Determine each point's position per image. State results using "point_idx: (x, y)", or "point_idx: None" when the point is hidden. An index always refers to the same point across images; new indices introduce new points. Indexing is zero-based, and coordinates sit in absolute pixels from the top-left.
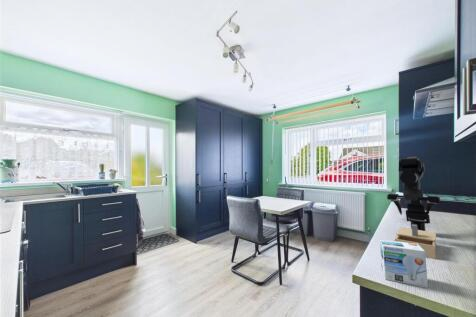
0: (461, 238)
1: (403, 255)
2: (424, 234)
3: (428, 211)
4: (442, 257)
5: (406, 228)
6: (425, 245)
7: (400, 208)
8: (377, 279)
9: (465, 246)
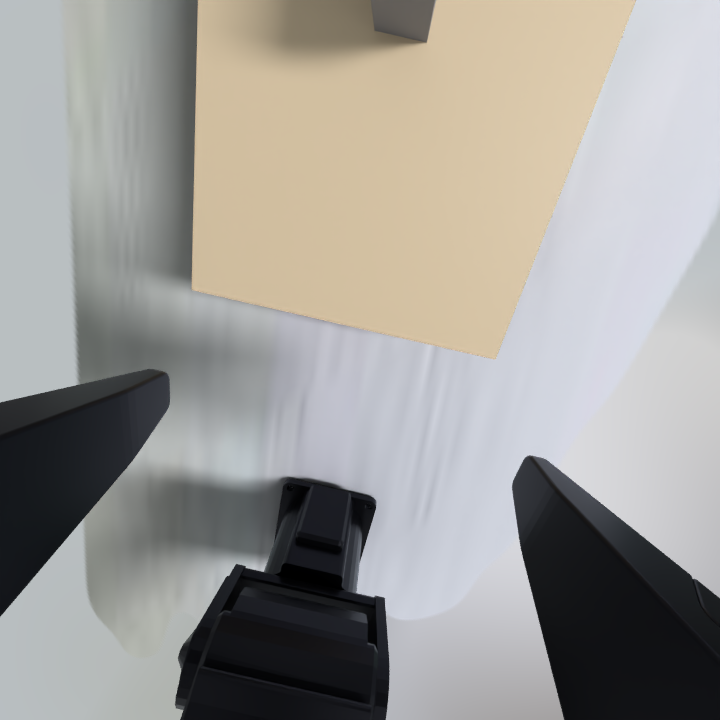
0: (122, 507)
1: None
2: (298, 122)
3: (4, 406)
4: None
5: (441, 335)
6: None
7: (605, 569)
8: None
9: (102, 350)
